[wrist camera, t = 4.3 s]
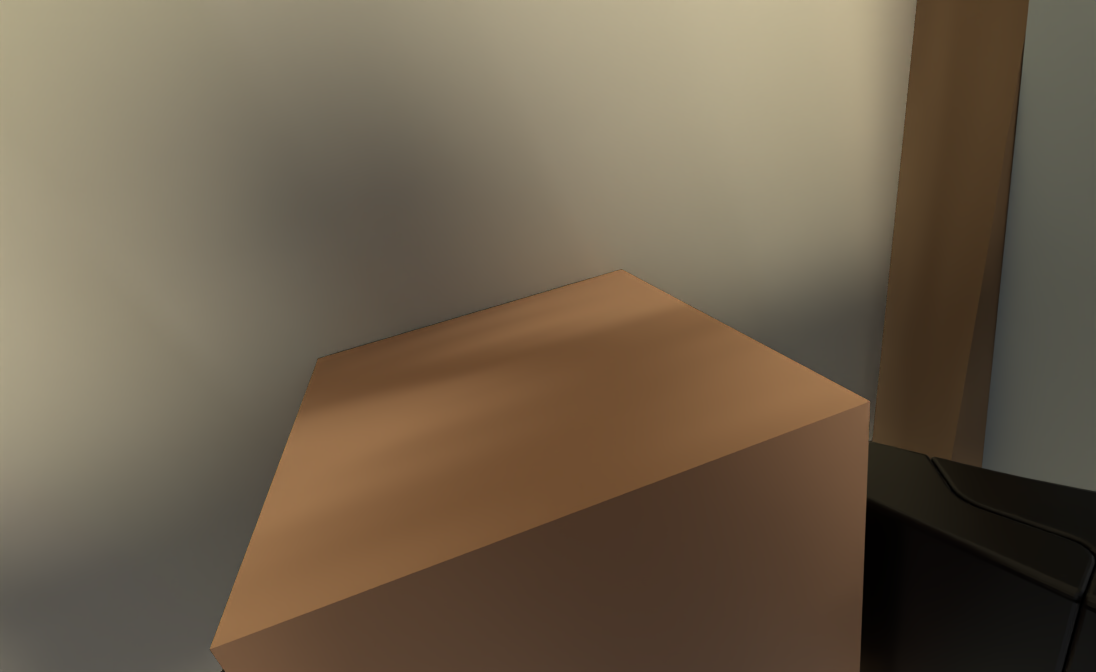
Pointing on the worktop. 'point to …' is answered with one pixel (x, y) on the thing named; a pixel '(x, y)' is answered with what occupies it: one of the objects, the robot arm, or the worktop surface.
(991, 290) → the walnut slab
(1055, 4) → the slate grey slab
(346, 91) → the worktop surface
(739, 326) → the worktop surface
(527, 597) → the terracotta block
